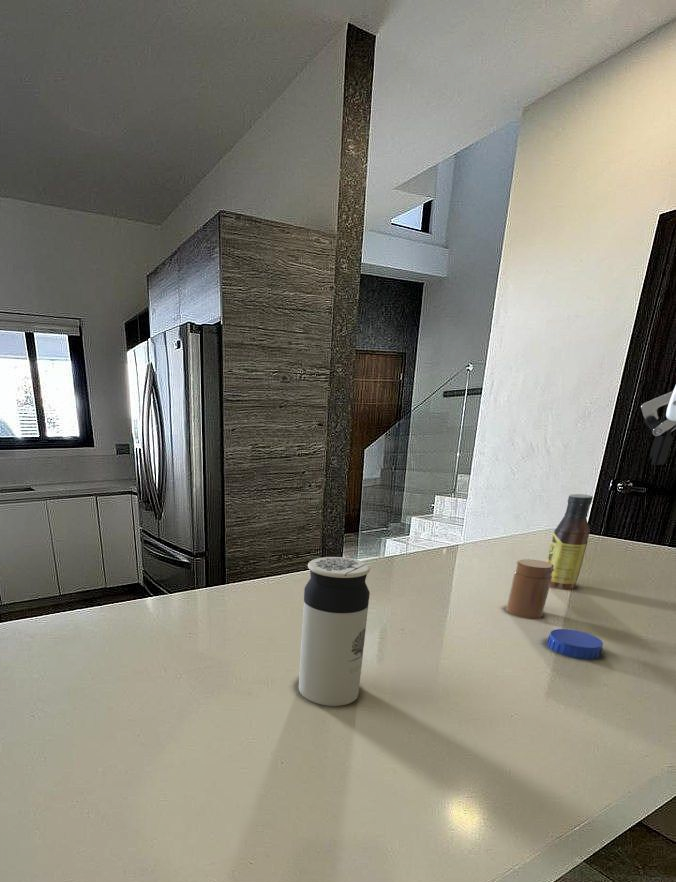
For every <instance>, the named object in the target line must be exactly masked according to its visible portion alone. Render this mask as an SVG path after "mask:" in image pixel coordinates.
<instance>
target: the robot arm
mask: <svg viewBox="0 0 676 882" xmlns="http://www.w3.org/2000/svg"><path fill="white" fill-rule="evenodd" d="M666 405H667V407H666V412H665V417H666V420H664V421H663V420H662V419H661V418H660V417H659V415H658V409H659V408H661V407H663V406H666ZM640 409H641V412H642V416H643V418H644V424H645V425H646V426H647V427H648V429H650V431H651V432H652V435H653V436H654V439H653V443H652V447H651V449H650V453H649V459H652V460H651V462H650V464H651V466H661V465H664V464H666V462H667V460H668V456H669V452H670V449H671V446H672V443H673V440H674V436H673V435H672V432H673V431H675V430H676V385H675V386H674V388H673V390H672V391H670V392H667V393H665V394H663V395H659V396H658V397H655V398H652V399H651V400H649V401H645V402H644V403H642V404H641V406H640Z"/></svg>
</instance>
